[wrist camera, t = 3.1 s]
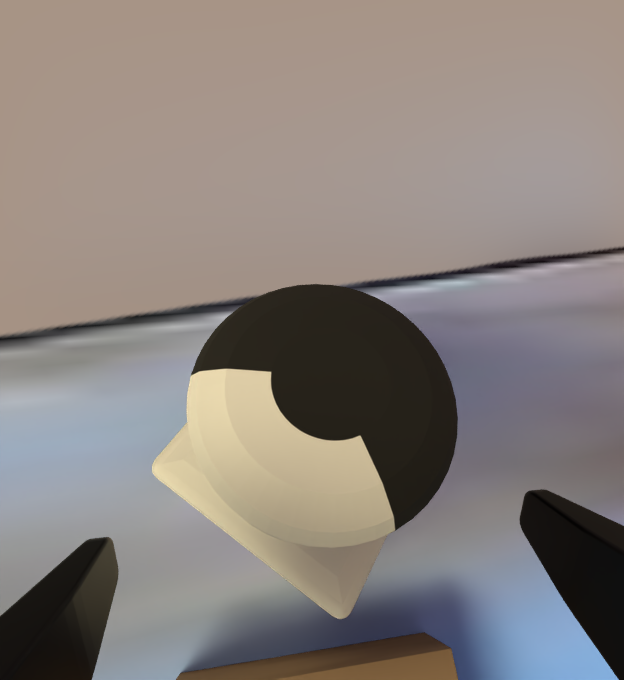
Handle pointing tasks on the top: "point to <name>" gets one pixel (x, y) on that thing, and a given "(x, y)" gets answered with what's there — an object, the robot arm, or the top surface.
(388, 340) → the medicine bottle
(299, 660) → the walnut block
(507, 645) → the top surface
